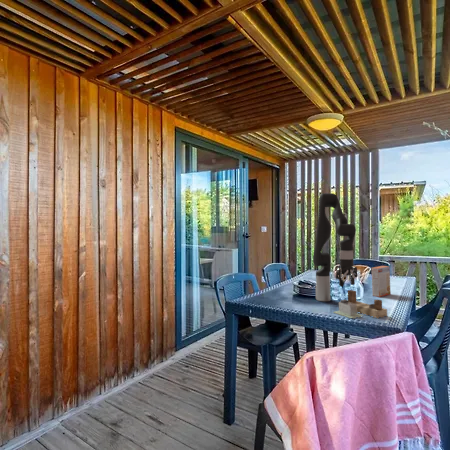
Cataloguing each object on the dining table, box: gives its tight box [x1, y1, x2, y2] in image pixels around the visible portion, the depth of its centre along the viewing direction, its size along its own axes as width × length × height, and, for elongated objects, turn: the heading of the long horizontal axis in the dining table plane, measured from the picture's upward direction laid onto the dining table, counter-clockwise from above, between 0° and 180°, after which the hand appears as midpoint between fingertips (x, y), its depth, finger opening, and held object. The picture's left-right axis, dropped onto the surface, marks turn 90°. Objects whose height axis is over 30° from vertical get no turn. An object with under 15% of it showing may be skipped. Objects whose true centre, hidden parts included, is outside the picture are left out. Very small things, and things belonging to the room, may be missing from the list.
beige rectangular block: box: [338, 299, 358, 316], centre depth 184 cm, size 9×5×7 cm, turn 24°
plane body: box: [347, 289, 388, 319], centre depth 188 cm, size 24×8×11 cm, turn 24°
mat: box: [333, 310, 364, 319], centre depth 184 cm, size 14×9×1 cm, turn 24°
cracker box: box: [371, 265, 392, 298], centre depth 229 cm, size 14×6×21 cm, turn 121°
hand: (347, 285), depth 184 cm, fingers open, 8 cm apart
